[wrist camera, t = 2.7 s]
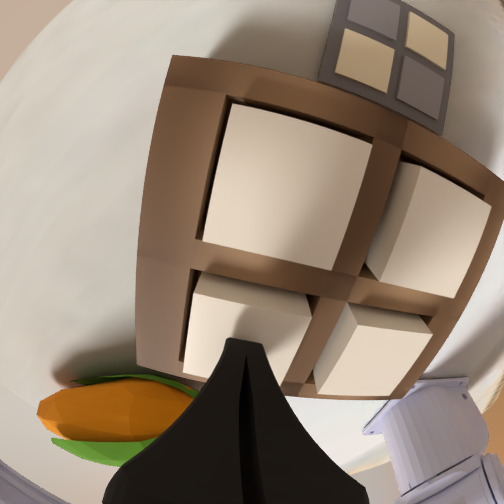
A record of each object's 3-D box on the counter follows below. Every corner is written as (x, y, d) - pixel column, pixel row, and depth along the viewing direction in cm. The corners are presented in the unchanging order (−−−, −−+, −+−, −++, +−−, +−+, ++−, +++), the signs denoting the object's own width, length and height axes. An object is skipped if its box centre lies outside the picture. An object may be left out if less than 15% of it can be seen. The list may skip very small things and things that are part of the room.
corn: (231, 493, 12) (52, 464, 15) (240, 410, 19) (78, 417, 22) (165, 438, 10) (1, 414, 13) (197, 341, 17) (37, 368, 20)
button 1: (415, 311, 12) (433, 334, 10) (378, 371, 14) (389, 395, 12) (345, 298, 12) (358, 325, 10) (311, 365, 14) (317, 394, 12)
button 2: (464, 195, 10) (491, 206, 8) (433, 277, 11) (453, 298, 10) (395, 160, 9) (421, 166, 8) (361, 259, 11) (379, 281, 9)
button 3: (304, 290, 12) (312, 317, 10) (275, 361, 13) (277, 389, 12) (203, 268, 11) (193, 292, 10) (190, 344, 13) (182, 372, 11)
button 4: (352, 143, 9) (372, 144, 7) (319, 248, 11) (331, 270, 9) (237, 110, 9) (232, 103, 7) (211, 223, 11) (202, 241, 9)
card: (450, 35, 8) (456, 33, 8) (437, 135, 11) (443, 135, 10) (341, -21, 8) (344, -26, 7) (317, 81, 11) (319, 79, 10)
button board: (472, 175, 12) (512, 188, 8) (385, 363, 17) (402, 399, 14) (194, 75, 11) (172, 55, 7) (155, 325, 16) (137, 364, 13)
